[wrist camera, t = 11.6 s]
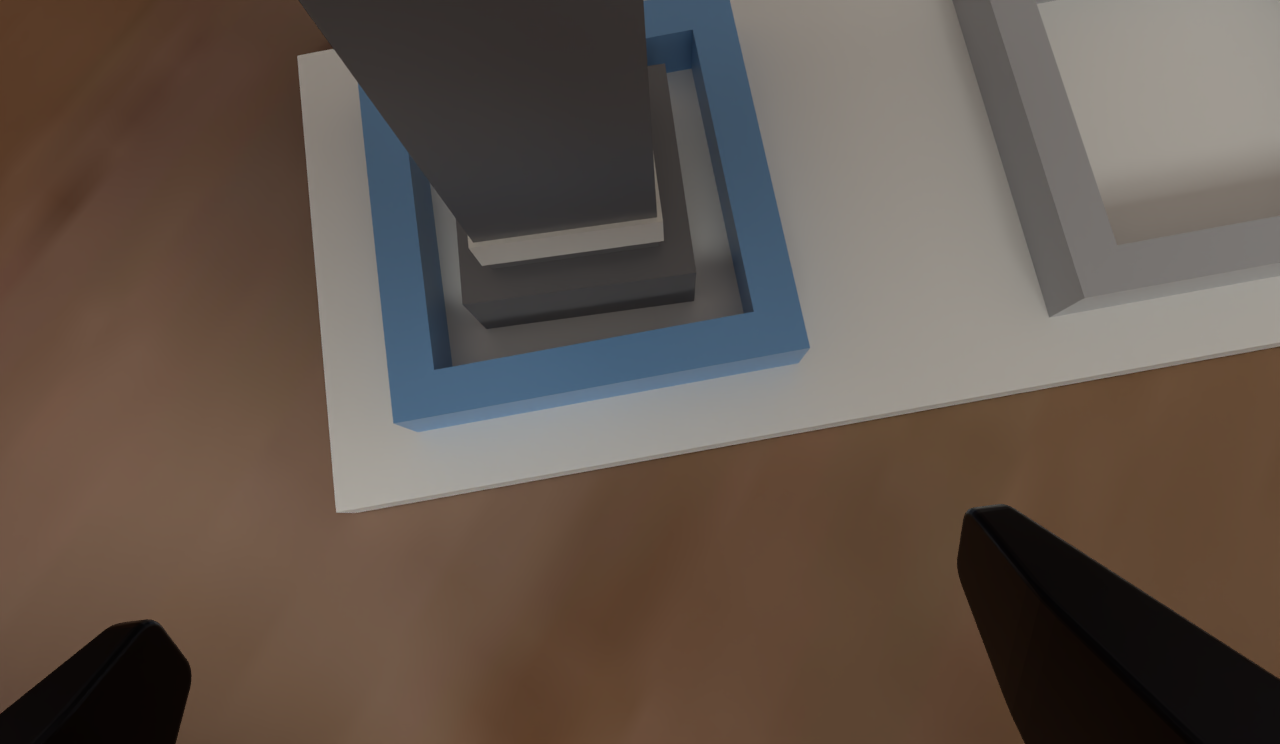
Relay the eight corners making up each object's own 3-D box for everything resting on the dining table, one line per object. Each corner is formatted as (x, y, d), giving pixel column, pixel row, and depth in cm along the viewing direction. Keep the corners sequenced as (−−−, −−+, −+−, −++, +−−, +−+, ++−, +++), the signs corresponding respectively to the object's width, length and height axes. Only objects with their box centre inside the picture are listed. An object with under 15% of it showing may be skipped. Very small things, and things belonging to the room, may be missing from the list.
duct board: (1322, -111, 20) (1412, -200, 18) (1507, 305, 17) (1643, 269, 15) (315, 78, 20) (265, 16, 18) (355, 513, 18) (303, 511, 15)
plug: (694, 300, 17) (739, -306, 5) (486, 328, 18) (-18, -188, 5) (666, 112, 18) (642, -803, 6) (470, 140, 19) (21, -696, 6)
